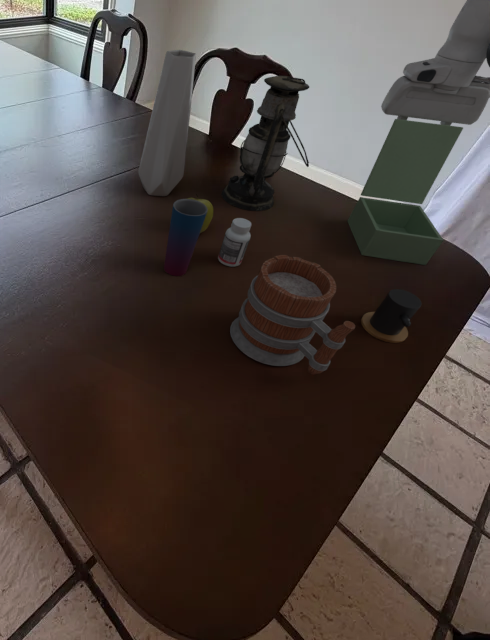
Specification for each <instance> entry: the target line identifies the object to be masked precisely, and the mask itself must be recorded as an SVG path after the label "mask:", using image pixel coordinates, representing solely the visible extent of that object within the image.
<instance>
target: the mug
mask: <svg viewBox="0 0 490 640" xmlns="http://www.w3.org/2000/svg"><path fill="white" fill-rule="evenodd" d="M336 292H337V284H336V281H335V278H334V277H333V275H331V274H330V273H329V272H328V271H327V270H325V269H324V268H323V267H321V265H320V264H319V263H316V262H312V261H309V260H305V259H302V258H301V257H299V256H288V254H280V255H279V254H278V255H275V256H274V257H272V258H269V259H267V260H265V261H264V262H263V263H262V265H261V268H260V270H259V273H258V275H256V276H255V277H254V278H253V279H252V280H251V283H250V285H249V288H248V290H247V298H246V299H245V300H243V303H242V304H241V308H240V310H239V312H238V317H236V318H235V319H234V320H233V321H232V322H231V324H230V330H229V332H230V333H229V334H230V337H231V340H232V342H233V343H234V344H235V346H236V347H237V348H238V349H239V351H241V352H242V353H243V354H244V355H246V356H247V357H248V358H250V359H252V360H254V361H256V362H258V363H261V364H264V365H267V366H274V367H286V366H292V365H295V364H298V363H300V361H302V360H303V359H304V357H305V358H307V359H308V365H307V373H308V374H309V375H312V376H316V375H319V374H321V373H323V372H324V371H327V370H328V368H329V366H330V365H331V360H332V358H333V357H334V356H335V354H336V353H337V351H338V350H340V349H342V348H343V346H344V344H345V343H346V337H347V336H348V335H349V334H350V333H352V331H354V330H355V328H356V325H355V323H354V322H352V321H349V320H345V321H344V322H343V324H339V325H336V327H335V328H331V327H330V326H328V324H326V323H325V322H324V319H325V317H326V316H327V314H328V313H329V311H330V307H331V300H332V299H333V297H334V296H335V294H336ZM315 334H317V335H318V336H320V337H321V338H322V343H321V345H320V347H319V348H318V349H316V348H315V347H314V346H313V344H311V343H310V342H311V340H312V339H313V338H314V335H315Z"/></svg>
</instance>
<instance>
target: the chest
mask: <svg viewBox="0 0 490 640" xmlns="http://www.w3.org/2000/svg"><path fill="white" fill-rule="evenodd" d="M346 221H347V223H348V226H349V228H350V231H351V233H352V236H353V238H354V241H355V243H356V245H357V247H358V250H359V252H360V254H361V256H366V257H372V258H377V259H378V258H379V259H384V260H391V261H398V262H403V263H410V264H417V265H422V266H426V265H427V264H428V263H429V261H430V260H431V259H432V257H433V256H434V255H435V253H436V252H437V251H438V249H439V248H440V246H441V245H442V244H443V243H444V241H445V240H444V238H443V237H442V236H441V234H440V232H439V231H438V230H437V229H436V227H435V225H434V224H433V223H432V220H431V219H430V218H429V216H428V215H427V213H426V212H425V210H424V209H423V208H422V206H421V205H419V204H413V203H406V202H404V203H403V202H399V201H392V200H385V199H378V198H371V197H364V196H360V197H359V198H358V200H357V202H356V203H355V205H354V207H353V209H352V210H351V213H350V215H349V216H348V218H347V220H346Z"/></svg>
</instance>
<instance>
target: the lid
mask: <svg viewBox="0 0 490 640" xmlns="http://www.w3.org/2000/svg"><path fill="white" fill-rule="evenodd" d="M463 130H464V127H463V126H458V125H457V126H456V125H450V126H449V125H441V124H440V123H431V122H423V121H416V120H408V119H407V120H400V119H397V118H394V120H393V122H392V124H391V127H390V129H389V131H388V133H387V136H386V137H385V139H384V142H383V144H382V146H381V149H380V151H379V153H378V155H377V158H376V160H375V162H374V164H373V166H372V168H371V170H370V173H369V176H368V177H367V179H366V182H365V184H364V186H363V187H362V190H361V193H360V197H366V198H373V199H380V200H387V201H394V202H401V203H403V202H404V203H408V204H415V205H423V203H424V202H425V200H426V198H427V196H428V194H429V192H430V191H431V189H432V188H433V185H434V183H435V181H436V180H437V178H438V175H440V172H441V171H442V168H443V166H444V165H445V163H446V161H447V159H448V157H449V155H450V153H451V152H452V150H453V148H454V147H455V145H456V143H457V141H458V139H459V137H460V135H461V133H462V131H463Z"/></svg>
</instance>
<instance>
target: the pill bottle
mask: <svg viewBox="0 0 490 640" xmlns="http://www.w3.org/2000/svg"><path fill="white" fill-rule="evenodd" d="M251 227H252V222H251V221H250V220H248V219H246V218H243V217H236V218H234V219H233V220H232V223H231V225H230V227H228V228H227V229H226V231H225V234H224V236H223V239H222V243H221V245H220V249H219V253H218V256H217V259H218V261H219V262H220V263H221V264H222V265H224V266H226V267H230V268H231V267H232V268H234V267H238V266H240V265H241V264H242V261H243V259H244V256H245V254H246V251H247V248H248V247H249V246H248V245H249V243H250V241H251V236H252V235H251V232H250V231H251Z"/></svg>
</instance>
